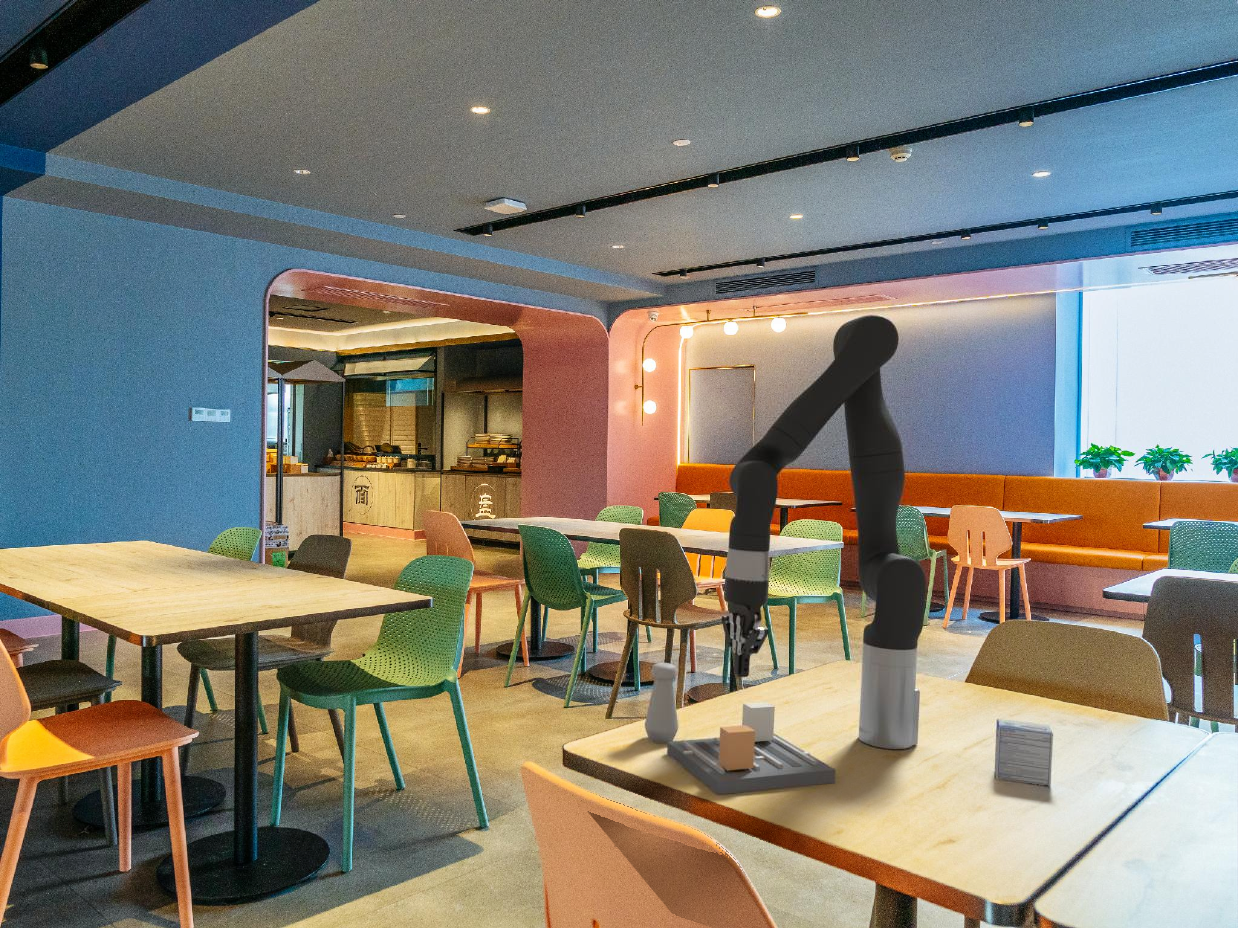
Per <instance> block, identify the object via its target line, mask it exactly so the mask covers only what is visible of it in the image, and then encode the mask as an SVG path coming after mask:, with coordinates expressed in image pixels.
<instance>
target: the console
mask: <svg viewBox="0 0 1238 928" xmlns="http://www.w3.org/2000/svg"><path fill="white" fill-rule="evenodd" d="M666 744H667V747H666V750H667V751H666V755H667V756H669V757H670V758H671V759H673V760H674V761H675V762H677V764H679V765H680V766H681V767H682V768H683V769H685V770H686V771H688V772H689V773H690V774H691V775H693V777H695V779H696V778H697V780H699V781H700V782H701V783H702V784H703V785H705V786H706V787H708V789H710V790H711V791H712V792H714V793H715V794H716V795H717V796H719V795H730V794H739V793H740V794H741V793H749V792H757V791H767V790H776V789H777V790H778V789H787V788H794V787H804V786H806V787H807V786H814V785H815V786H817V785H825V784H834V783H836V769H835V768H833V767H832V766H831V765H828V764H827V763H825V762H824V761H822V760H820V759H819V758H817V757H815V756H814V755H812V754H810V752H808V751H805V750H803V749H801V748H799V747H797V746H796V745H795V744H794V743H792V742H789V741H787V739H784V738H783V737H781V736H779V735H778V734H776V733H773V740H770V741H758V742H755V743H754V764H753V768H748V769H737V770H726V769H725V768H723V767H722V766H721V765H719V744H720V737H718V736H716V737H711V738H708V737H707V738H699V739H686V740H685V739H680V740H673V741H670V742H668V743H666Z"/></svg>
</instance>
